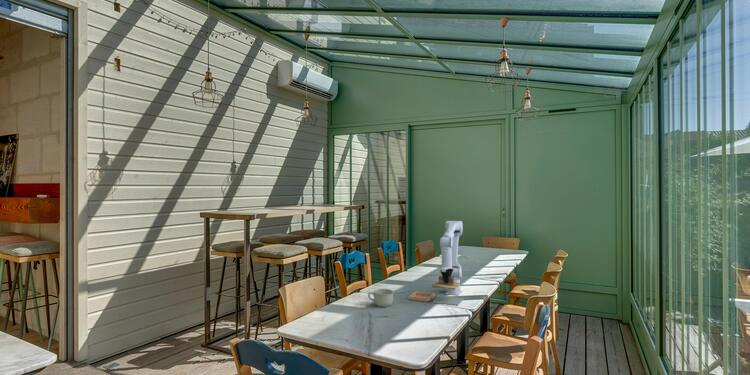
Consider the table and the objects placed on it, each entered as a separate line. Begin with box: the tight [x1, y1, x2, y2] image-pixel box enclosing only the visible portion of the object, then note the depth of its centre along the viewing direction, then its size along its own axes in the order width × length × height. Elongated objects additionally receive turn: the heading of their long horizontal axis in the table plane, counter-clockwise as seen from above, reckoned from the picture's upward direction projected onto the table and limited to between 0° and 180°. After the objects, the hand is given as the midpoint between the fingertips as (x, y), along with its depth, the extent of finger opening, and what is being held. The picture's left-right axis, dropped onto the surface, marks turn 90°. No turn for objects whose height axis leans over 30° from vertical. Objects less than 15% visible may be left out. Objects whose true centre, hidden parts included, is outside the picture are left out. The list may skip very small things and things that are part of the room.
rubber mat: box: [432, 295, 464, 307], centre depth 220 cm, size 14×14×1 cm
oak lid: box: [431, 275, 462, 290], centre depth 221 cm, size 13×13×5 cm
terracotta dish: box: [407, 291, 436, 303], centre depth 227 cm, size 12×12×2 cm
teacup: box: [367, 288, 394, 308], centre depth 214 cm, size 14×11×8 cm
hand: (447, 282), depth 221 cm, fingers closed on oak lid, 3 cm apart
